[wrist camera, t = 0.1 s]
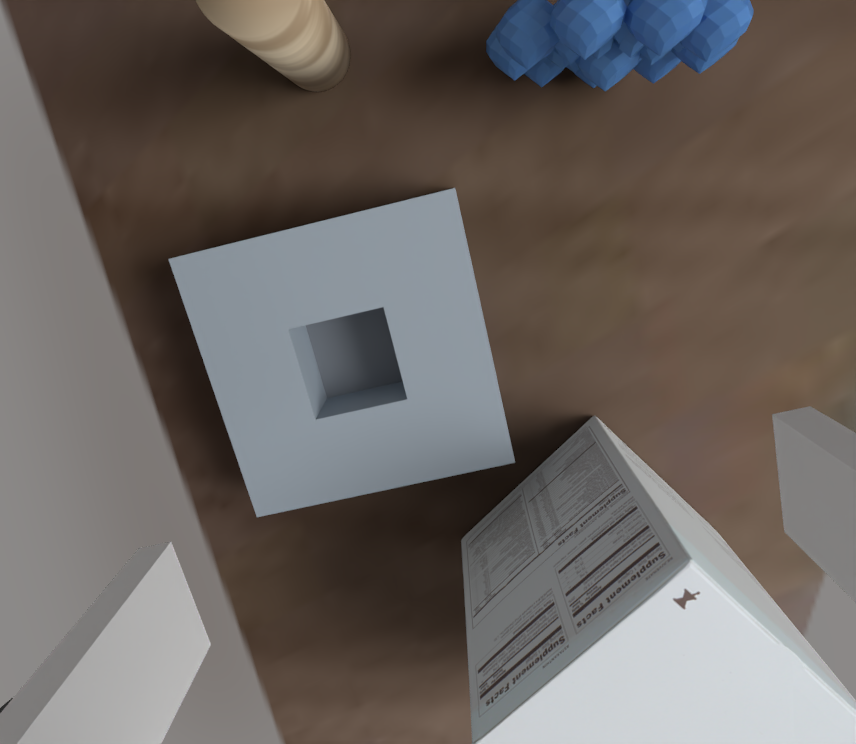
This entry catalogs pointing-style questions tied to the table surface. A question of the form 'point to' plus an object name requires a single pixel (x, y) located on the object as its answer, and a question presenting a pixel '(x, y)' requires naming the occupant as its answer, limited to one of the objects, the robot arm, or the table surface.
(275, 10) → the peg
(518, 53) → the grapes
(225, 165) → the table surface
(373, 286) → the socket block
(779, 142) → the table surface
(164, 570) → the robot arm
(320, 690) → the table surface
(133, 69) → the table surface
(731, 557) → the supplement box
